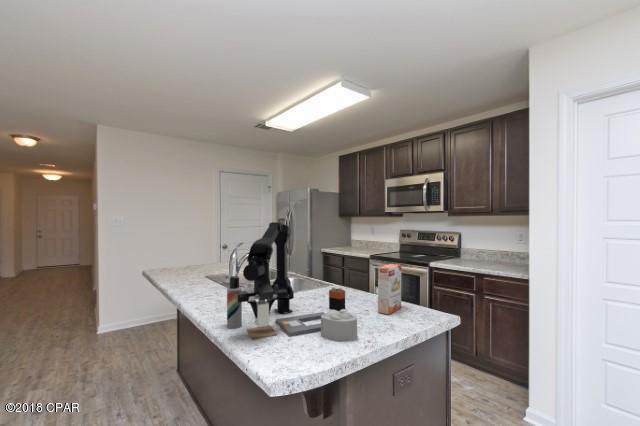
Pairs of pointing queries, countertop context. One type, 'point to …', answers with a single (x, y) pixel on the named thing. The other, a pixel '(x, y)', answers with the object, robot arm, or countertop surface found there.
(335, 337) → the lumpy-topped squat cylinder
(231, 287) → the lotion bottle
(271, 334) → the rest pad
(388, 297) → the cracker box
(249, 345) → the countertop surface
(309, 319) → the grey square tray
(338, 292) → the battery
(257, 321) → the plug
